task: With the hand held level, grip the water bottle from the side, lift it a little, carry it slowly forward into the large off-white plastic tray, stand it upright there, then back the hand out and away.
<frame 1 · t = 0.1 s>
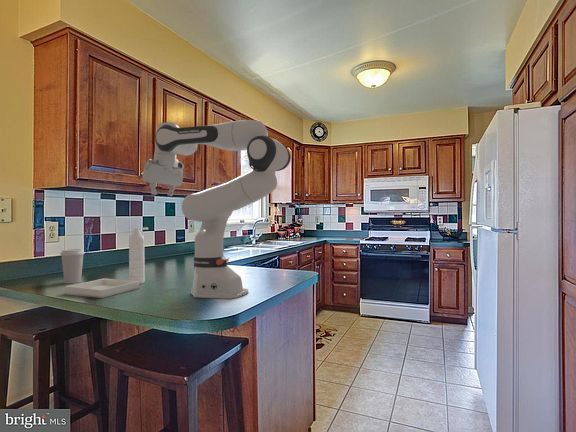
hand: (162, 195, 146), 39 cm above the countertop, tool pointing down, fingers open, 8 cm apart
water bottle: (139, 283, 158), on the countertop
tray: (103, 291, 141), on the countertop
coffee cup: (72, 282, 160), on the countertop
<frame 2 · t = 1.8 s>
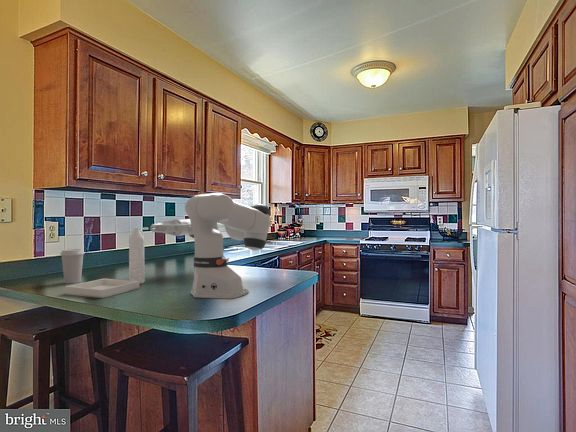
hand: (158, 228, 170), 24 cm above the countertop, tool horizontal, fingers open, 8 cm apart
nothing on the countertop moved.
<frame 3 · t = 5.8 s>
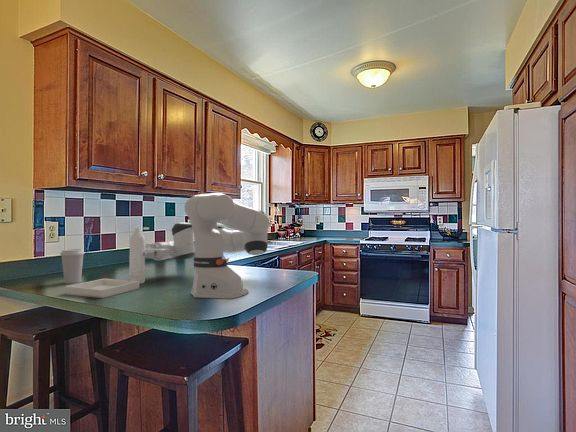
hand: (137, 254, 158), 13 cm above the countertop, tool horizontal, fingers closed on water bottle, 6 cm apart
water bottle: (139, 282, 158), on the countertop, touching gripper
everything else where it was.
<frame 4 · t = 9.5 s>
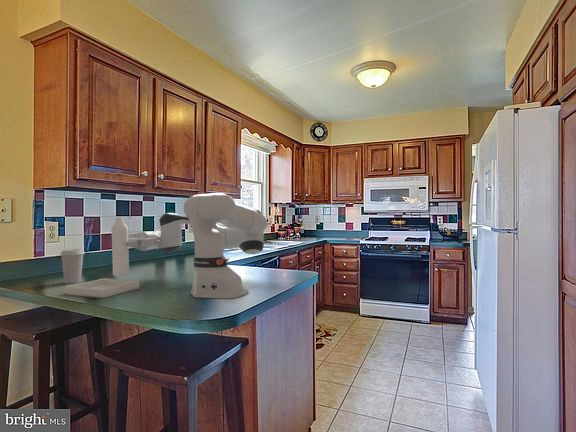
hand: (120, 243, 150), 18 cm above the countertop, tool horizontal, fingers closed on water bottle, 6 cm apart
water bottle: (123, 274, 151), point 5 cm above the countertop, touching gripper
everything else where it was.
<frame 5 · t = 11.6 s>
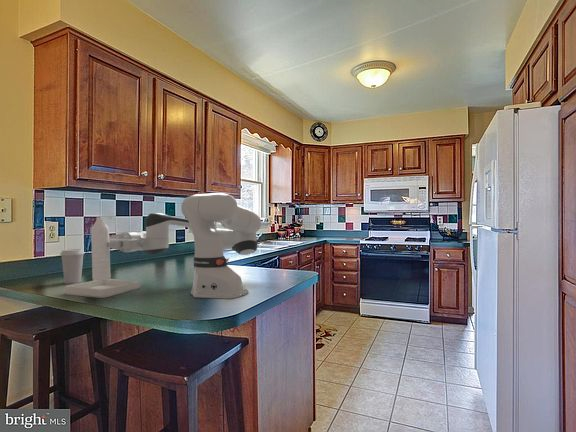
hand: (101, 244, 140), 19 cm above the countertop, tool horizontal, fingers closed on water bottle, 6 cm apart
water bottle: (104, 278, 141), point 5 cm above the countertop, touching gripper
everything else where it was.
when the fingers open (15 cm above the countertop, at t = 13.1 s): water bottle stays where it is, resting on tray.
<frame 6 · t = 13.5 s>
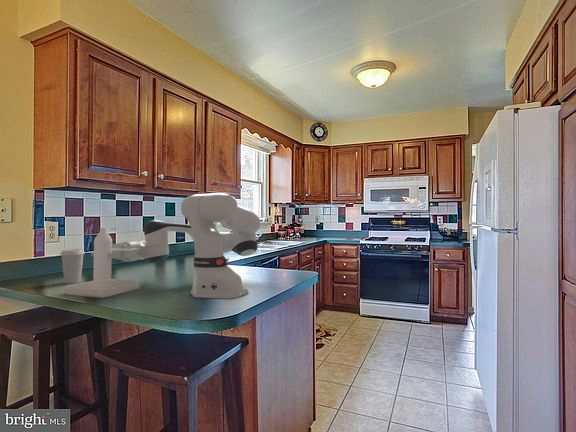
hand: (101, 254, 140), 15 cm above the countertop, tool horizontal, fingers open, 8 cm apart
water bottle: (104, 289, 141), resting on tray
everything else where it was.
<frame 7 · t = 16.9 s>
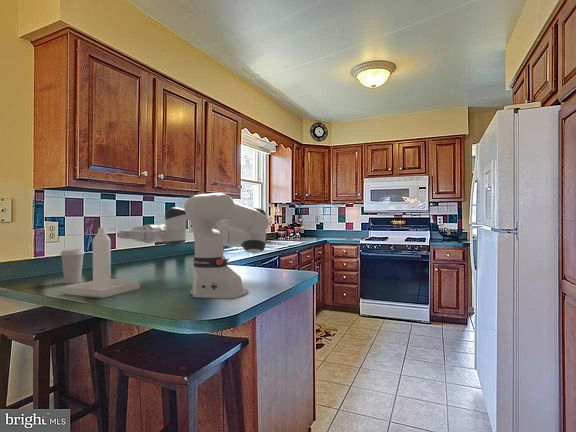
hand: (126, 235, 152), 22 cm above the countertop, tool horizontal, fingers open, 8 cm apart
nothing on the countertop moved.
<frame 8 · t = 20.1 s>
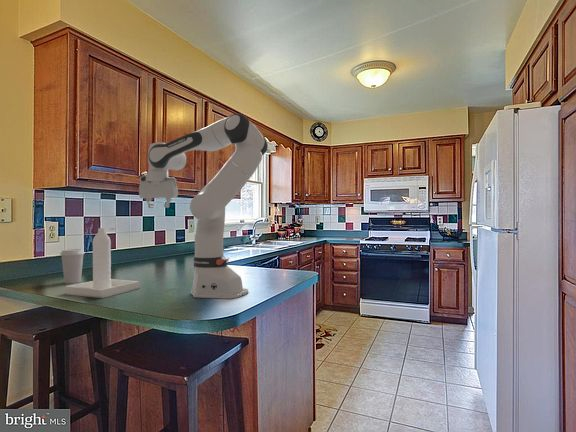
hand: (158, 207, 162), 34 cm above the countertop, tool pointing down, fingers open, 8 cm apart
nothing on the countertop moved.
at the end: water bottle inside the target area on the tray (0.6 cm from its centre), point 0.4 cm above the tray's base; water bottle tilted 0°; the gripper is holding nothing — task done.
